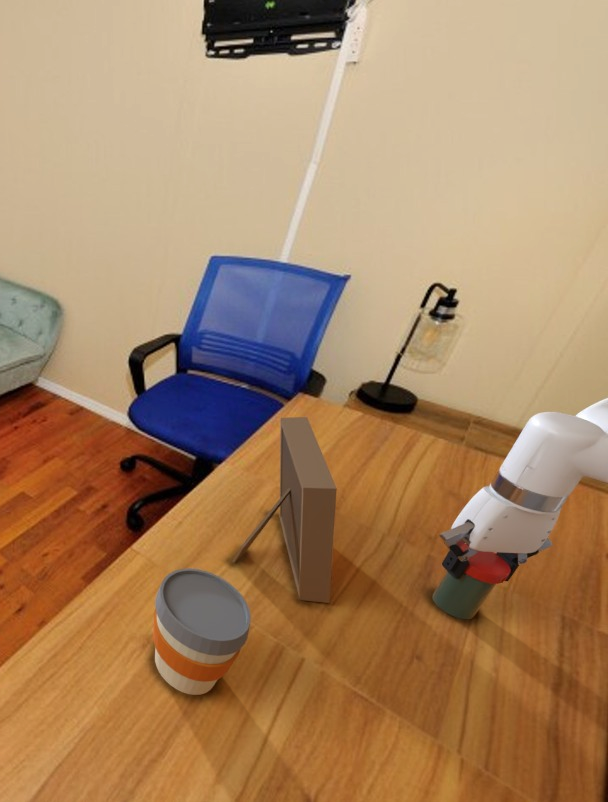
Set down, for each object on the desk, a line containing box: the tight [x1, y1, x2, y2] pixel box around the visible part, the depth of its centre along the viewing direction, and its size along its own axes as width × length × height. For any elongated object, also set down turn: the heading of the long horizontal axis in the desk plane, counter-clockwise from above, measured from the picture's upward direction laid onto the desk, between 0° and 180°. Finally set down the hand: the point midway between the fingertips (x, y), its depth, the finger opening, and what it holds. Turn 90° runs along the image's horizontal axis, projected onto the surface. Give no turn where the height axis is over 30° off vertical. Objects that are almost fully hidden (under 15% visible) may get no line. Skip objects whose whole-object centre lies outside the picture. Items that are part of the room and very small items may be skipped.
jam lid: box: [460, 543, 511, 585], centre depth 83 cm, size 7×7×2 cm
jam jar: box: [431, 570, 497, 620], centre depth 85 cm, size 6×6×11 cm
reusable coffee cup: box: [152, 567, 252, 696], centre depth 76 cm, size 12×12×15 cm
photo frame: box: [231, 416, 338, 604], centre depth 93 cm, size 15×22×25 cm
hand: (473, 572), depth 84 cm, fingers closed on jam lid, 6 cm apart
